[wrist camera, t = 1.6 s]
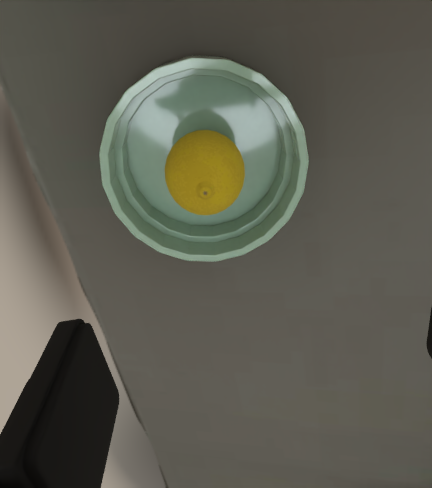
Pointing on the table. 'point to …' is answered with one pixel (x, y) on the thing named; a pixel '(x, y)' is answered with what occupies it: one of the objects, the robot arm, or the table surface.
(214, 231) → the fruit bowl
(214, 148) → the lemon
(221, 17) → the table surface
